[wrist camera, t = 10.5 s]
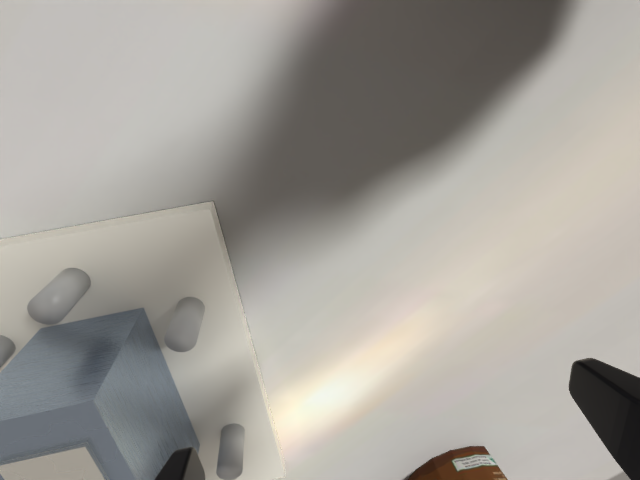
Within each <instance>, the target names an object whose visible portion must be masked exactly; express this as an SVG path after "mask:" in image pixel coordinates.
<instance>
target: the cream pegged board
mask: <svg viewBox="0 0 640 480" xmlns="http://www.w3.org/2000/svg"><path fill="white" fill-rule="evenodd" d="M139 308H144V310H145V312H146V315H147V317H148V320H149V322H150V324H151V327H152V329H153V332H154V334H155V337H156V339H157V341H158V344H159V346H160V349H161V351H162V354H163V356H164V358H165V361H166V363H167V366H168V368H169V371H170V373H171V375H172V378H173V380H174V383H175V385H176V387H177V390H178V392H179V395H180V397H181V400H182V402H183V404H184V407H185V409H186V412H187V414H188V417H189V419H190V421H191V424H192V426H193V429H194V431H195V433H196V436H197V438H198V441H199V443H200V447H199V452H198V456H199V459H200V461H201V464H202V466H203V468H204V472H205V480H274V479H279V478H283V477H285V460H284V456H283V453H282V449H281V445H280V442H279V438H278V434H277V431H276V427H275V423H274V420H273V416H272V412H271V409H270V405H269V402H268V398H267V394H266V391H265V387H264V383H263V380H262V376H261V372H260V369H259V365H258V361H257V358H256V354H255V351H254V347H253V343H252V340H251V336H250V332H249V329H248V325H247V321H246V318H245V314H244V310H243V307H242V303H241V300H240V296H239V292H238V289H237V285H236V281H235V278H234V274H233V270H232V267H231V263H230V260H229V256H228V252H227V249H226V245H225V241H224V238H223V234H222V230H221V227H220V223H219V219H218V216H217V212H216V209H215V205H214V201H210V202H204V203H199V204H193V205H188V206H182V207H177V208H171V209H166V210H160V211H154V212H149V213H143V214H138V215H132V216H127V217H121V218H115V219H110V220H104V221H99V222H93V223H88V224H82V225H76V226H71V227H65V228H60V229H54V230H49V231H43V232H38V233H32V234H26V235H21V236H15V237H10V238H4V239H0V372H1V371H2V370H3V369H4V368H5V367H6V366H7V365H8V364H9V363H10V361H11V360H12V359H13V358H14V357H15V356H16V355H17V354H18V353H19V352H20V351H21V349H22V348H23V347H24V346H25V345H26V344H27V343H28V342H29V341H30V340H31V338H32V337H33V336H34V335H35V334H36V333H37V332H38V331H39V330H40V329H41V328H45V327H50V326H55V325H60V324H65V323H69V322H74V321H79V320H84V319H89V318H94V317H99V316H104V315H109V314H114V313H119V312H124V311H129V310H134V309H139Z"/></svg>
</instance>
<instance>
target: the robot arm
mask: <svg viewBox="0 0 640 480" xmlns="http://www.w3.org/2000/svg"><path fill="white" fill-rule="evenodd" d="M569 391H570V394H571V396H572V398H573V399H574V401H575V402H576V404H577V405H578V407H579V408H580V409H581V411H582V412H583V414H584V415H585V417H586V418H587V420H588V421H589V423H590V424H591V426H592V427H593V429H594V430H595V432H596V433H597V434H598V436H599V437H600V439H601V440H602V442H603V443H604V445H605V446H606V448H607V449H608V451H609V452H610V453H611V455H612V456H613V458H614V459H615V460H616V462H617V463H618V464H619V465H620V467H621V468H622V469H623V471H624V472H625V473H626V474H627V475H628V477H629V478H630V479H631V480H640V378H639V377H636V376H634V375H632V374H629V373H627V372H625V371H622V370H620V369H618V368H615V367H613V366H611V365H608V364H606V363H603V362H601V361H599V360H596V359H593V358H586V359H582V360H577V361H575V362H574V363H573V364H572V369H571V375H570V381H569ZM154 480H205V472H204V468H203V466H202V464H201V461H200V459H199V456H198V454H197V451H196V449H195V448H194V447H186V448H182V449H178V450H175V451H174V452H173V453H172V454H171V456H170V457H169V459H168V460H167V462H166V463H165V465H164V466H163V468H162V469H161V470H160V472H159V473H158V475H157V476H156V478H155V479H154Z"/></svg>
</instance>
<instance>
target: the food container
mask: <svg viewBox="0 0 640 480" xmlns="http://www.w3.org/2000/svg"><path fill="white" fill-rule="evenodd" d="M408 480H507V478H506V477H505V475H504V474H503V472H502V471H501V470H500V468H499V467H498V465H497V464H496V463H495V461H494V460H493V458H492V457H491V455H490V454H489V453H488V451H487V450H486V448H485V447H484V446H469V447H465V448H460V449H455V450H450V451H448V452H446V453H443V454H441V455H439V456H436V457H434V458H432V459H430V460H429V461H428V462H426V463H425V464H423V465H422V466H421V467H419V468H418V469H416V471H415V472H414V473H413V474H412V475H411V476H410V477H409V478H408Z"/></svg>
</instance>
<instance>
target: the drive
mask: <svg viewBox="0 0 640 480" xmlns="http://www.w3.org/2000/svg"><path fill="white" fill-rule="evenodd" d="M186 447H194V448H195V449H196V451H197V454H198V452H199V447H200V443H199V441H198V438H197V436H196V433H195V431H194V429H193V426H192V424H191V421H190V419H189V417H188V414H187V412H186V409H185V407H184V404H183V402H182V400H181V397H180V395H179V392H178V390H177V387H176V385H175V383H174V380H173V378H172V375H171V373H170V371H169V368H168V366H167V363H166V361H165V358H164V356H163V354H162V351H161V349H160V346H159V344H158V341H157V339H156V337H155V334H154V332H153V329H152V327H151V324H150V322H149V320H148V317H147V315H146V312H145V310H144V308H139V309H134V310H129V311H124V312H119V313H114V314H109V315H104V316H99V317H94V318H89V319H84V320H79V321H74V322H69V323H65V324H60V325H55V326H50V327H45V328H41V329H40V330H39V331H38V332H37V333H36V334H35V335H34V336H33V337H32V338H31V340H30V341H29V342H28V343H27V344H26V345H25V346H24V347H23V348H22V349H21V351H20V352H19V353H18V354H17V355H16V356H15V357H14V358H13V359H12V360H11V361H10V363H9V364H8V365H7V366H6V367H5V368H4V369H3V370H2V371H1V372H0V480H154V479H155V478H156V476H157V475H158V473H159V472H160V470H161V469H162V468H163V466H164V465H165V463H166V462H167V460H168V459H169V457H170V456H171V454H172V453H173V452H174V451H175V450H178V449H182V448H186Z"/></svg>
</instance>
